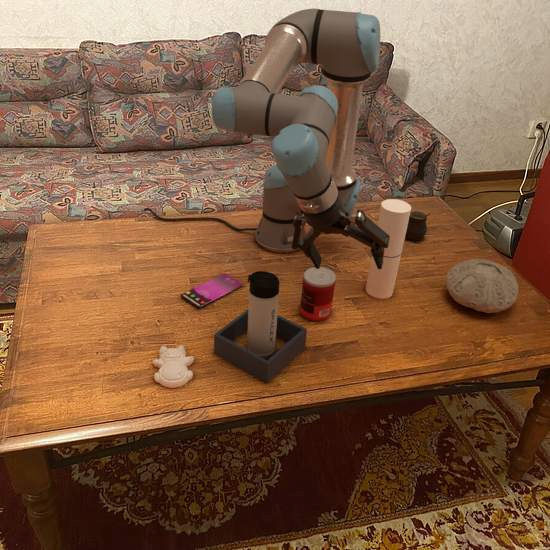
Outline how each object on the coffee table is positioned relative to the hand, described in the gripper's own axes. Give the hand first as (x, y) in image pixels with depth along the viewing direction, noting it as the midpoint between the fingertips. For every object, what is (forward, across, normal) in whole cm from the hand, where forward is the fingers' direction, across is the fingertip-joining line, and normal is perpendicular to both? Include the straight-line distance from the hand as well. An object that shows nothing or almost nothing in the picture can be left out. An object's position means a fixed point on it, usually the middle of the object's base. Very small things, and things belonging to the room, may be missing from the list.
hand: (349, 263), depth 117 cm
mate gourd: (+47, +1, +40) cm, 62 cm away
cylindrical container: (+30, -2, +11) cm, 33 cm away
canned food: (+20, -14, -2) cm, 24 cm away
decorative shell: (+40, +21, +15) cm, 48 cm away
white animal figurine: (-1, -34, -27) cm, 43 cm away
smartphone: (+11, -39, -1) cm, 41 cm away
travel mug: (+9, -20, -18) cm, 28 cm away
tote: (+9, -20, -18) cm, 28 cm away
